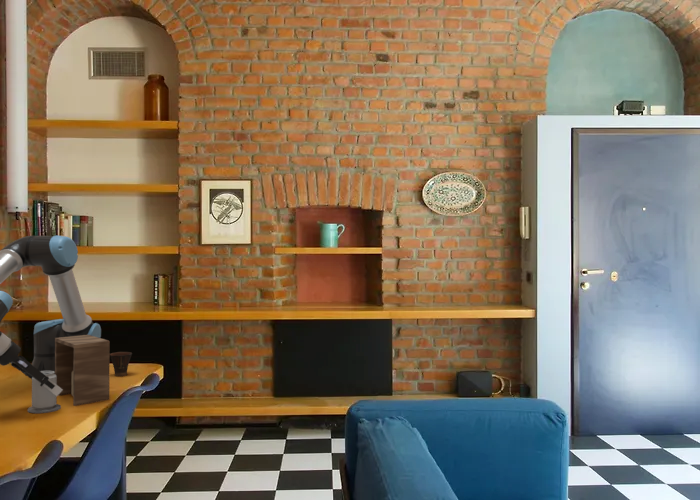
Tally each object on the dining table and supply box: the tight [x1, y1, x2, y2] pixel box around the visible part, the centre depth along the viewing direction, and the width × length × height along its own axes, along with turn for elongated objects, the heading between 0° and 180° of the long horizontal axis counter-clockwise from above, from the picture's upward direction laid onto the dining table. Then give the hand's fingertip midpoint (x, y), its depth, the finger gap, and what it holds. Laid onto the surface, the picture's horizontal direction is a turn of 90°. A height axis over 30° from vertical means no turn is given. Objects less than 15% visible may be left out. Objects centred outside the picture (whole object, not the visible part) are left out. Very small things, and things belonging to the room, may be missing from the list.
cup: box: [110, 351, 133, 377], centre depth 256 cm, size 9×9×10 cm
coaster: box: [27, 403, 62, 415], centre depth 204 cm, size 10×10×1 cm
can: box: [31, 371, 57, 410], centre depth 204 cm, size 8×8×12 cm
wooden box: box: [55, 335, 111, 407], centre depth 220 cm, size 19×12×21 cm, turn 45°
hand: (54, 390), depth 206 cm, fingers open, 10 cm apart
